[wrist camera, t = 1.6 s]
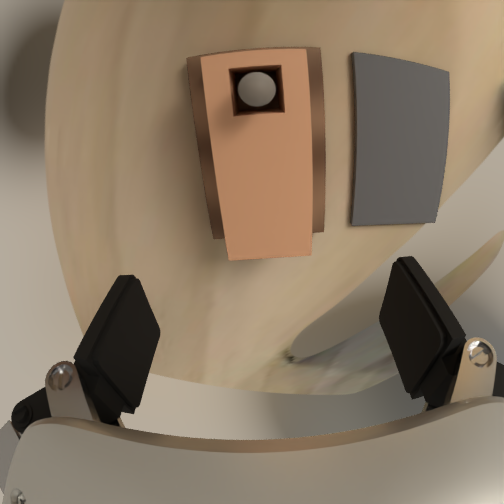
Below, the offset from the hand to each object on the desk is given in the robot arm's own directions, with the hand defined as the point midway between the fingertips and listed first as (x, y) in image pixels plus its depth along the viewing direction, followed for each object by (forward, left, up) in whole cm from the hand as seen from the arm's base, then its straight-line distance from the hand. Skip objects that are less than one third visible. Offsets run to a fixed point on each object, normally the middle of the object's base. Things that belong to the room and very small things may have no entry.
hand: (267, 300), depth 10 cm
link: (-2, 0, -14) cm, 14 cm away
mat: (-2, +13, -16) cm, 21 cm away
